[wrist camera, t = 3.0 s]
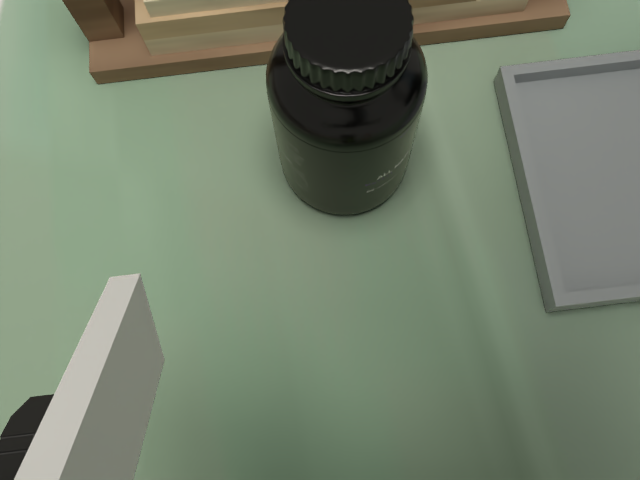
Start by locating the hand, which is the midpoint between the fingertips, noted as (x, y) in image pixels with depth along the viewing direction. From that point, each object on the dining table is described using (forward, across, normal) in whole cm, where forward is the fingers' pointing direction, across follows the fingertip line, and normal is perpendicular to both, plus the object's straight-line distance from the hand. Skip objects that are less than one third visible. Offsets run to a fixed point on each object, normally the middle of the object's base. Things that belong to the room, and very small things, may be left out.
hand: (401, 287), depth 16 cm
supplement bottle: (+18, 0, -3) cm, 19 cm away
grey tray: (+16, +16, -5) cm, 23 cm away
